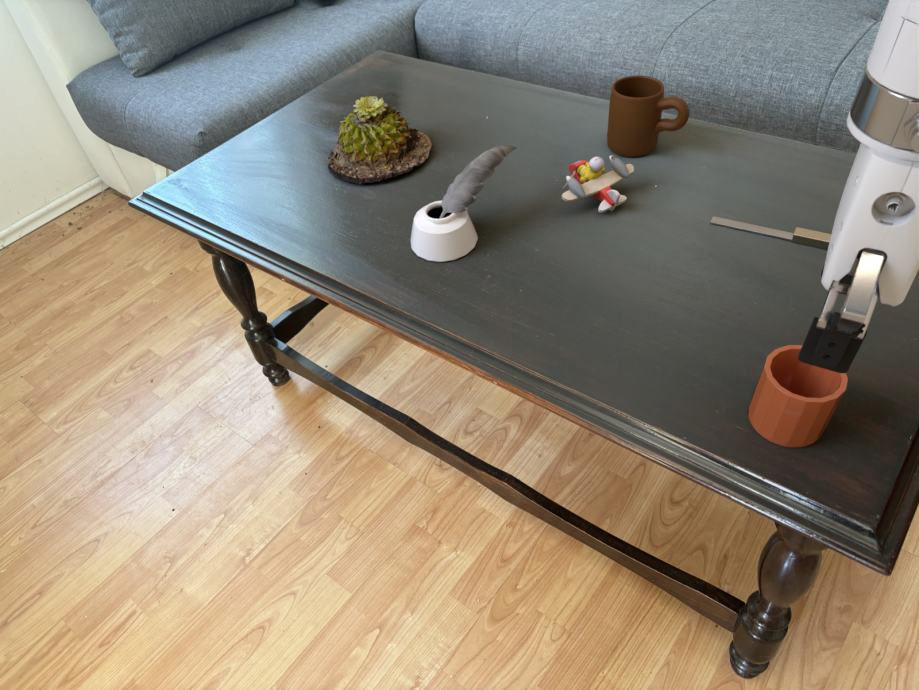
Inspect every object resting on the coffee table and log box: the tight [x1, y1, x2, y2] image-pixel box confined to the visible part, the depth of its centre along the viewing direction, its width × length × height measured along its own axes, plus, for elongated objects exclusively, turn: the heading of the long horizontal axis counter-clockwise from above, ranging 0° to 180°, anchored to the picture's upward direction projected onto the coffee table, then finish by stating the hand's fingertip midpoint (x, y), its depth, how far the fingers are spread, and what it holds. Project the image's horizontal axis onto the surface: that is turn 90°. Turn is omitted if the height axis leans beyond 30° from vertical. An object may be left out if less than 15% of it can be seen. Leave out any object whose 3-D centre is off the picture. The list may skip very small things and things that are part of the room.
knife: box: [709, 215, 832, 251], centre depth 83 cm, size 17×2×1 cm, turn 61°
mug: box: [606, 74, 691, 158], centre depth 96 cm, size 12×8×9 cm, turn 50°
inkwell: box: [410, 144, 517, 263], centre depth 87 cm, size 9×18×10 cm, turn 131°
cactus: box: [327, 95, 433, 185], centre depth 102 cm, size 17×16×10 cm
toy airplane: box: [560, 155, 635, 214], centre depth 89 cm, size 9×9×6 cm
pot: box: [747, 344, 849, 449], centre depth 62 cm, size 7×7×7 cm
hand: (832, 320), depth 49 cm, fingers open, 9 cm apart
